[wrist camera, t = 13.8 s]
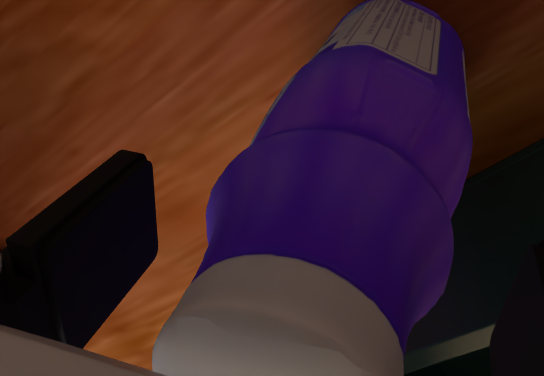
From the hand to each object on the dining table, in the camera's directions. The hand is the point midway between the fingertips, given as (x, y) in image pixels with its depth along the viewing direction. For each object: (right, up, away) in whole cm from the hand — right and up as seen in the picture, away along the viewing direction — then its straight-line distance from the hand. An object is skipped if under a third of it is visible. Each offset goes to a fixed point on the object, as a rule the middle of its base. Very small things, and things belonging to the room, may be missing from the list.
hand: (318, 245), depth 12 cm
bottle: (+4, +6, +11) cm, 13 cm away
